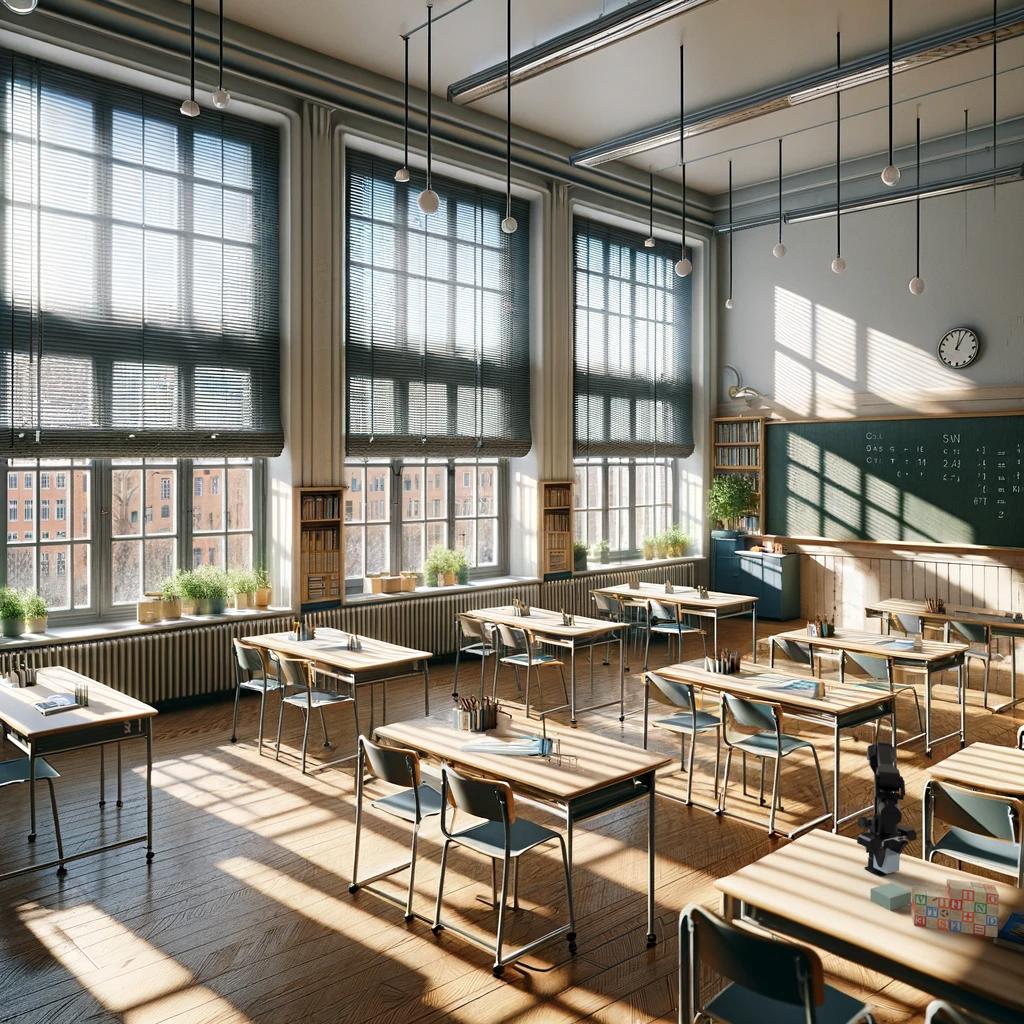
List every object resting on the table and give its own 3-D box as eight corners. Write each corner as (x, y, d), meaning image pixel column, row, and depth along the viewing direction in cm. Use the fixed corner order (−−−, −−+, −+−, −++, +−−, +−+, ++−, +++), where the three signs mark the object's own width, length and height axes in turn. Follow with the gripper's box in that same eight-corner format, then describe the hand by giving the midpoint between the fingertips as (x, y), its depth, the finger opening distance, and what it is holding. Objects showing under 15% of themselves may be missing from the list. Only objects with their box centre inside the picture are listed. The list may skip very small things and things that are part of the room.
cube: (885, 864, 278) (885, 847, 278) (899, 870, 274) (899, 853, 273) (873, 867, 276) (873, 850, 276) (887, 873, 271) (887, 856, 271)
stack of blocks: (913, 926, 261) (914, 883, 260) (911, 916, 267) (912, 873, 266) (998, 937, 254) (999, 893, 254) (993, 927, 260) (994, 884, 260)
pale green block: (891, 895, 280) (891, 882, 280) (911, 905, 274) (911, 891, 274) (870, 901, 276) (870, 888, 276) (889, 911, 270) (890, 898, 269)
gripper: (888, 800, 286) (887, 850, 286) (843, 809, 277) (842, 860, 278) (918, 811, 276) (917, 863, 276) (872, 821, 267) (871, 875, 268)
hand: (886, 865), depth 275 cm, fingers closed on cube, 5 cm apart
